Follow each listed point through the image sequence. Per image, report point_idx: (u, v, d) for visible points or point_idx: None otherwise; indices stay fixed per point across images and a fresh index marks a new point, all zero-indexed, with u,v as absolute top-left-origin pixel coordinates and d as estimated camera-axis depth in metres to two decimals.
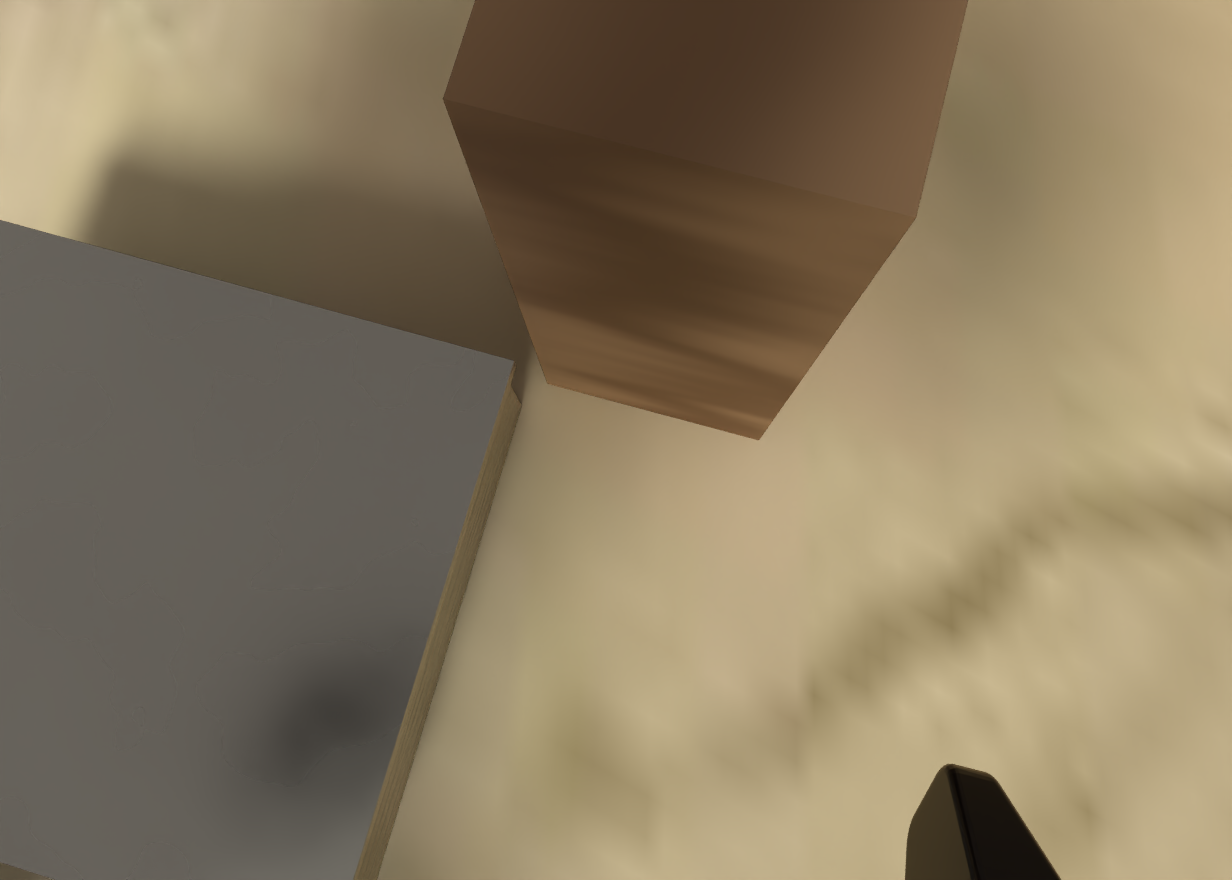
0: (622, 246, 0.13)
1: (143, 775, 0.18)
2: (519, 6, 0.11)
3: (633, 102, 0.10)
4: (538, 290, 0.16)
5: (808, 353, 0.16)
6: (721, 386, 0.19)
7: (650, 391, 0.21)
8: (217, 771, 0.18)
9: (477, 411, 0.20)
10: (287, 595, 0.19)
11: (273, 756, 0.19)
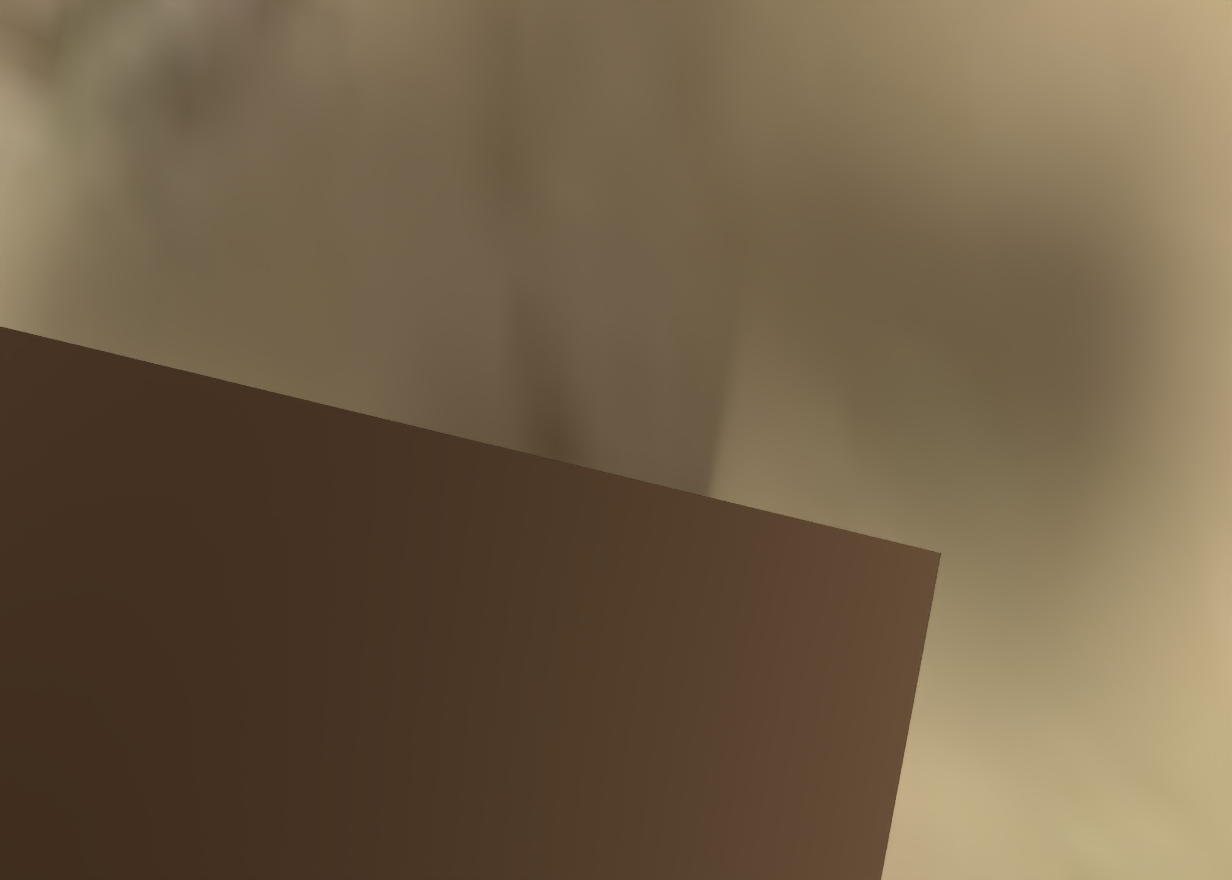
0: None
1: None
2: None
3: None
4: None
5: None
6: None
7: None
8: None
9: None
10: None
11: None
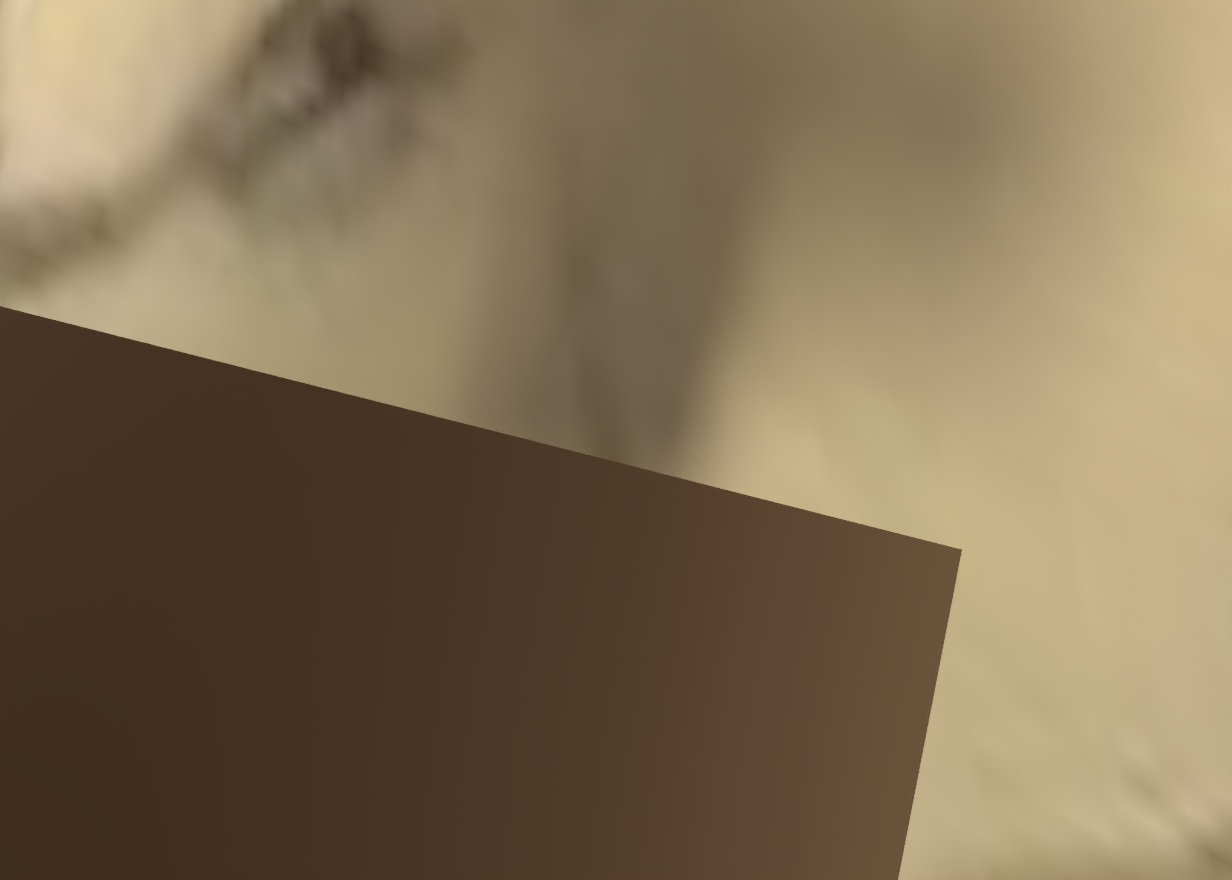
0: None
1: None
2: None
3: None
4: None
5: None
6: None
7: None
8: None
9: None
10: None
11: None
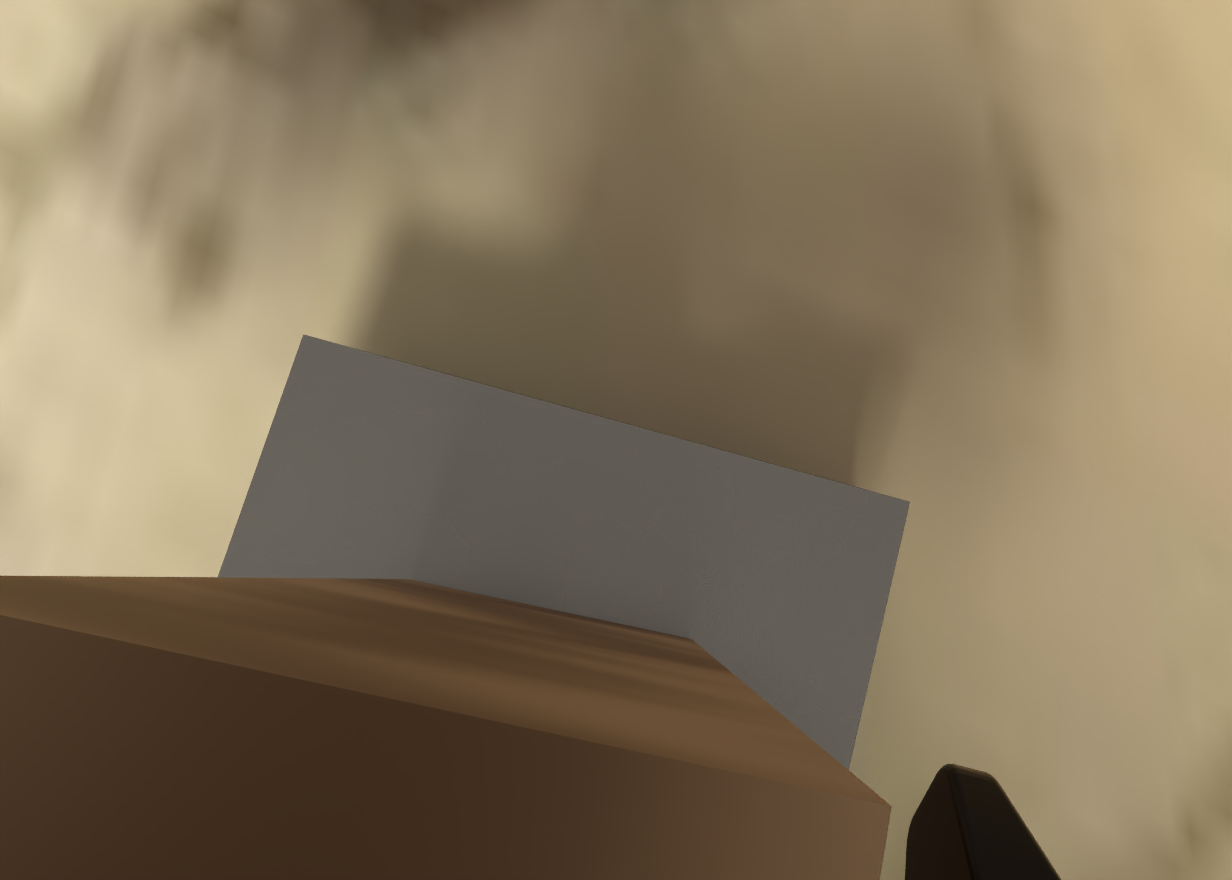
0: None
1: None
2: None
3: None
4: None
5: None
6: None
7: None
8: None
9: (873, 558, 0.18)
10: None
11: None
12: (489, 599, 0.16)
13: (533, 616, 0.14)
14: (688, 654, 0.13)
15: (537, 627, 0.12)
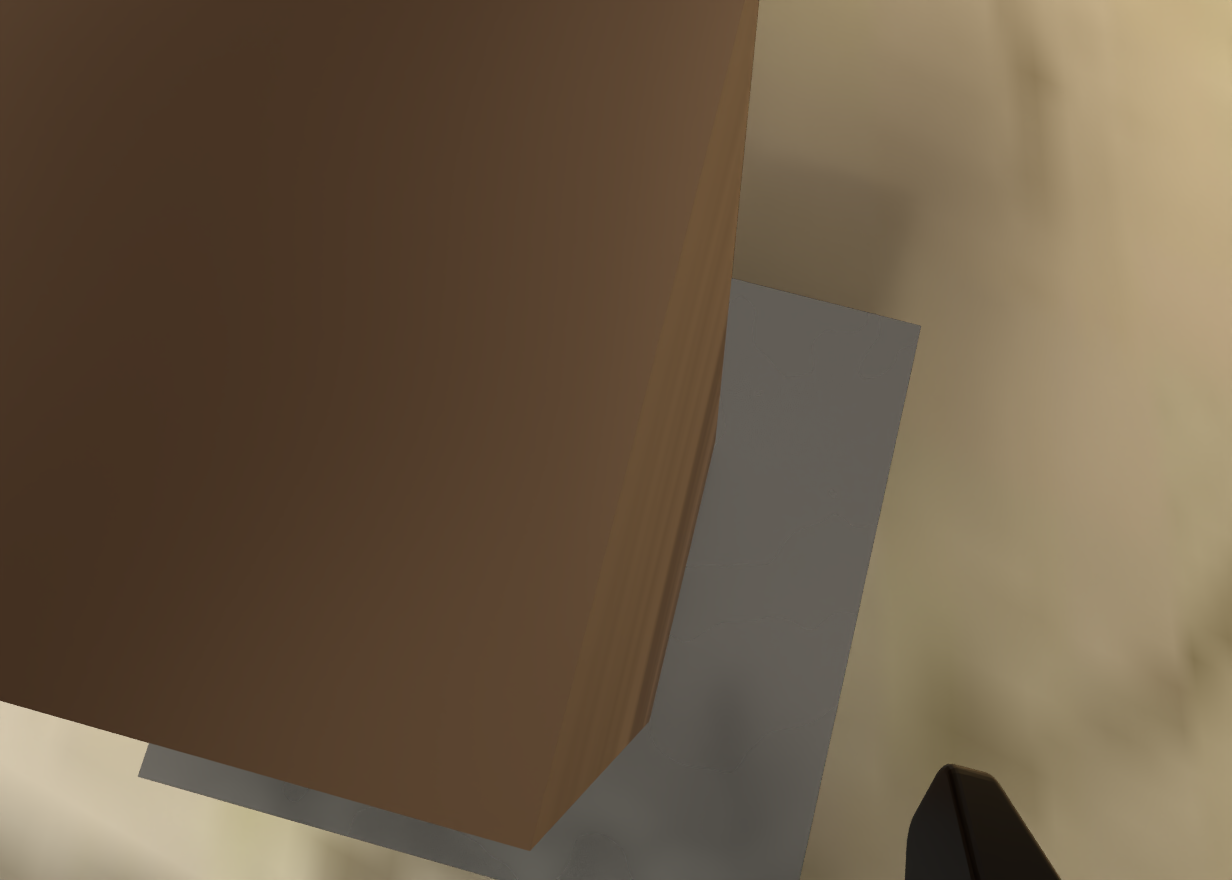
0: None
1: None
2: None
3: None
4: None
5: None
6: None
7: None
8: (648, 758, 0.18)
9: (887, 378, 0.19)
10: (705, 572, 0.18)
11: (704, 741, 0.18)
12: None
13: None
14: None
15: None
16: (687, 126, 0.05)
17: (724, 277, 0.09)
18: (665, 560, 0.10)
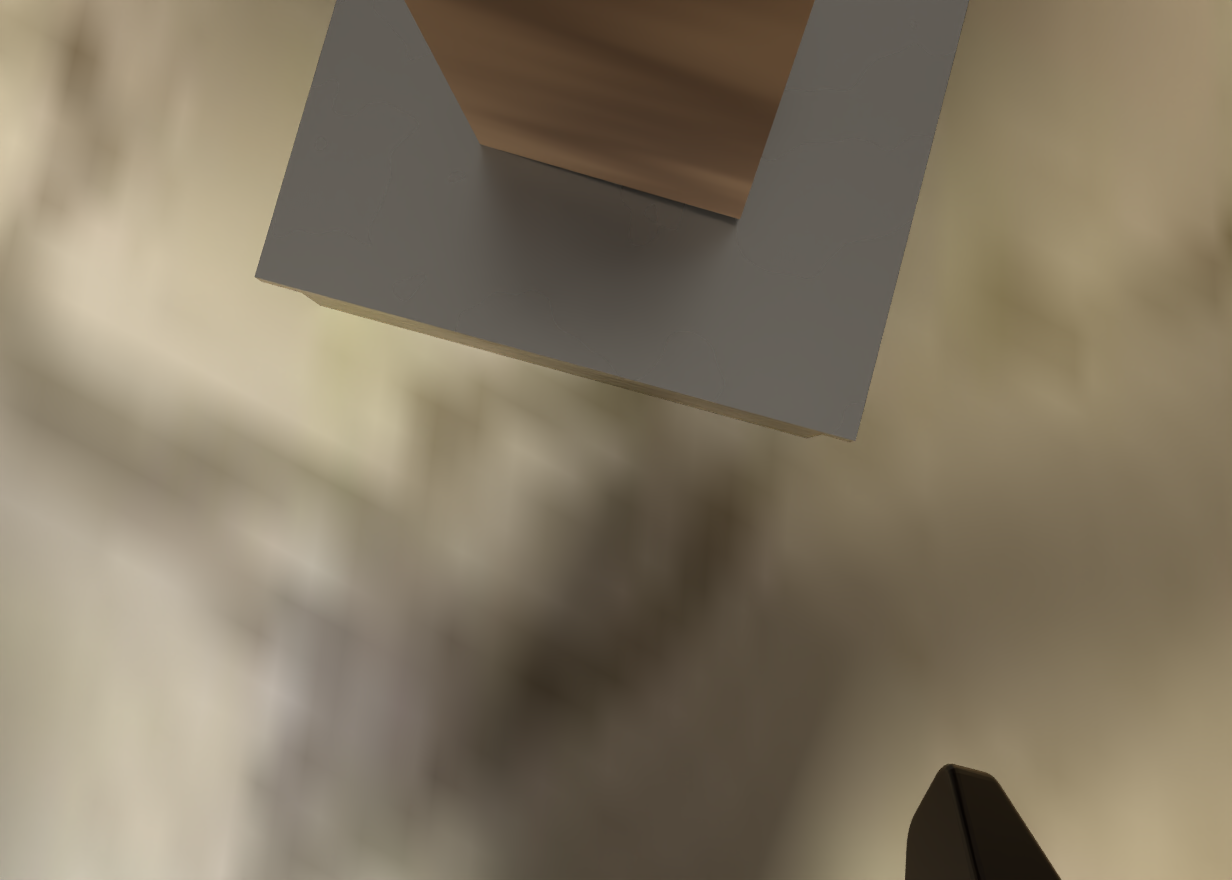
0: None
1: (661, 269, 0.19)
2: None
3: None
4: None
5: (785, 42, 0.11)
6: (681, 125, 0.15)
7: (599, 145, 0.17)
8: (735, 264, 0.19)
9: None
10: (790, 96, 0.19)
11: (788, 249, 0.19)
12: None
13: None
14: None
15: None
16: None
17: None
18: None
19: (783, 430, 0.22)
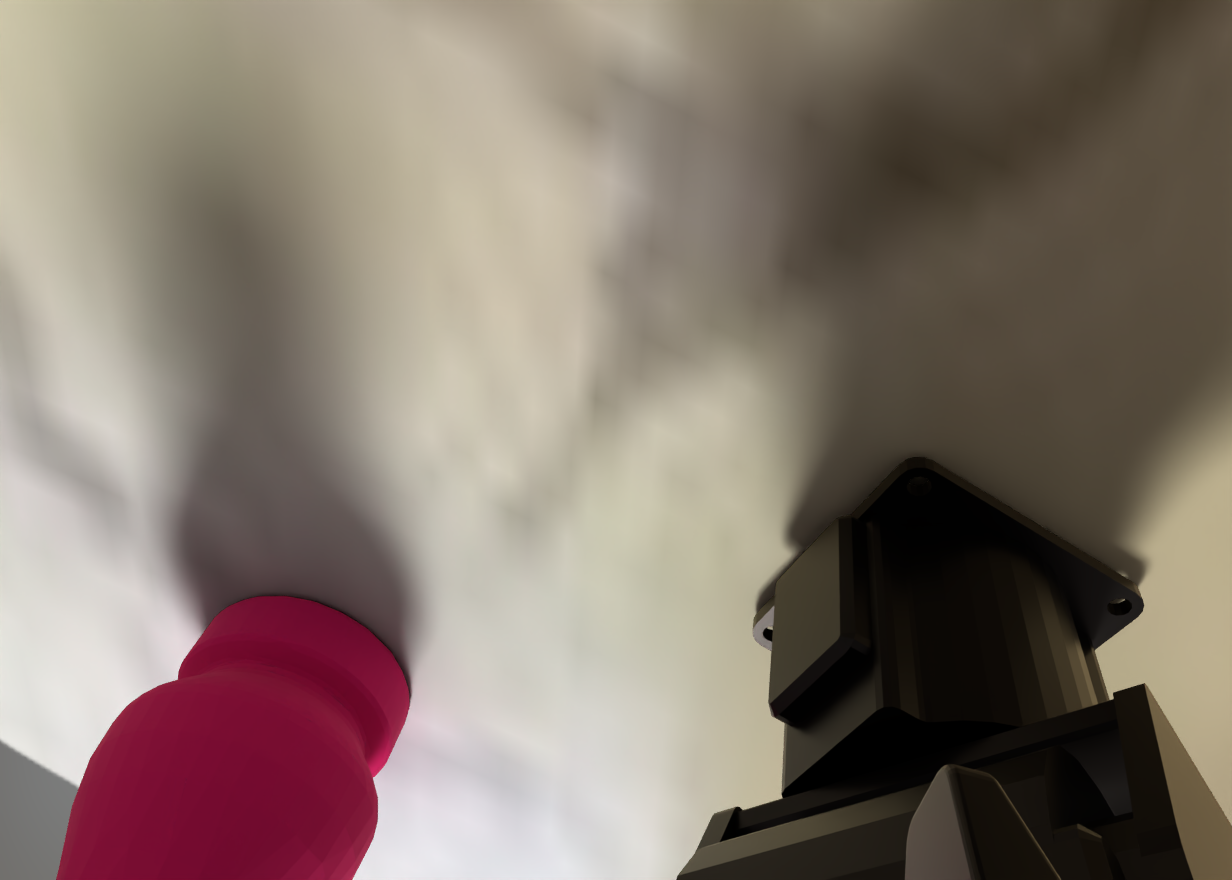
0: None
1: None
2: None
3: None
4: None
5: None
6: None
7: None
8: None
9: None
10: None
11: None
12: None
13: None
14: None
15: None
16: None
17: None
18: None
19: None
